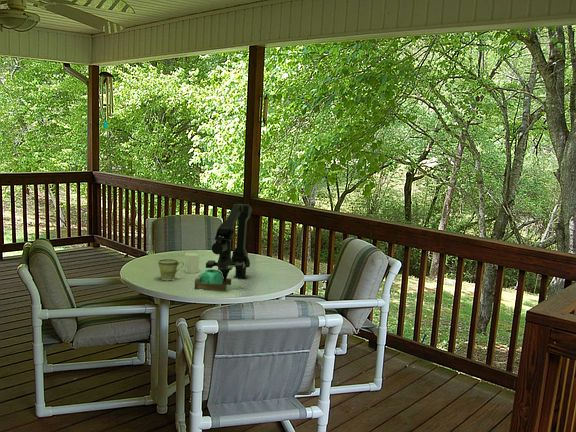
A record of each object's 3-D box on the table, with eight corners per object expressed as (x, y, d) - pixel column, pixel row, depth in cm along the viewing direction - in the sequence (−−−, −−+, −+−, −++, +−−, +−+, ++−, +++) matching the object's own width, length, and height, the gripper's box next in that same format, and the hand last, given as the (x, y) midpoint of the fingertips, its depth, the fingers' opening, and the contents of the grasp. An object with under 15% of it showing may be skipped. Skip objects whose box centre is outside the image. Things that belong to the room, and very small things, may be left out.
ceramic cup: (158, 282, 281) (158, 262, 280) (157, 277, 290) (157, 258, 289) (184, 281, 284) (184, 262, 283) (182, 276, 294) (183, 258, 293)
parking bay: (201, 282, 285) (201, 272, 284) (231, 284, 284) (231, 274, 283) (194, 289, 271) (194, 279, 271) (225, 291, 270) (226, 281, 269)
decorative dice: (212, 283, 283) (212, 268, 282) (222, 287, 278) (223, 271, 277) (200, 286, 277) (200, 270, 276) (210, 289, 272) (211, 273, 271)
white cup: (181, 271, 306) (182, 253, 304) (193, 269, 311) (193, 252, 310) (189, 274, 300) (190, 256, 299) (201, 272, 306) (202, 254, 304)
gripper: (203, 253, 267) (203, 285, 269) (241, 254, 266) (241, 286, 268) (208, 249, 278) (208, 279, 280) (244, 250, 277) (244, 280, 279)
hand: (225, 281), depth 277 cm, fingers closed
